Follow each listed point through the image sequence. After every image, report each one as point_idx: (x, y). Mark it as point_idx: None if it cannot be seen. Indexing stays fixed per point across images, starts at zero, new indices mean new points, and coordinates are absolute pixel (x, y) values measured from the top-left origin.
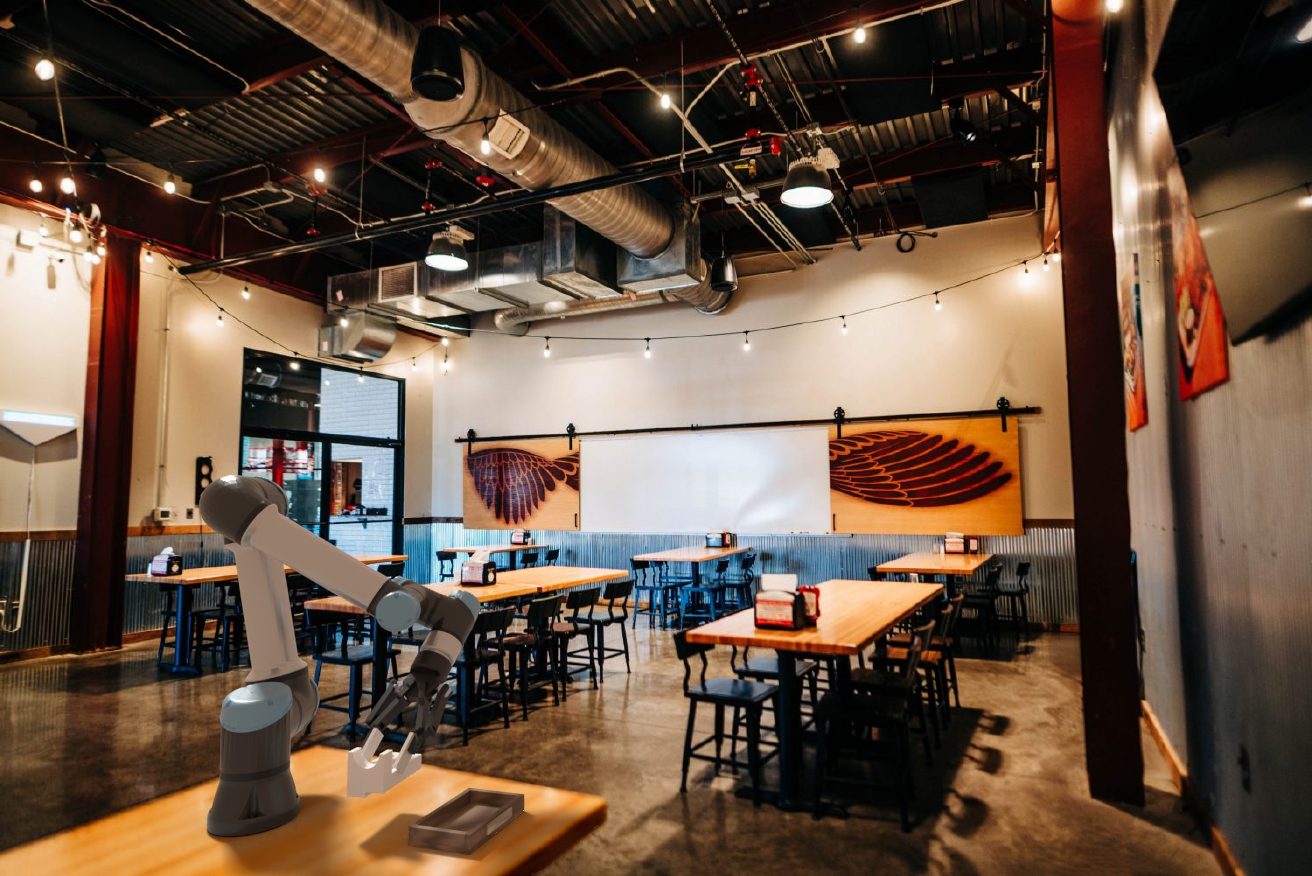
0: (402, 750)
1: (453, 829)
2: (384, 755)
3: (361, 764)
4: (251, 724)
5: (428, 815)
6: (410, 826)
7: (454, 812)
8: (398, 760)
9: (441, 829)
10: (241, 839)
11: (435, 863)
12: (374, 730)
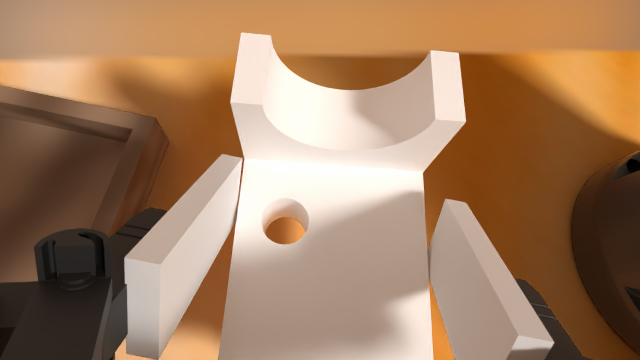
0: (202, 187)
1: (48, 202)
2: (241, 36)
3: (377, 104)
4: None
5: (117, 192)
6: (150, 119)
7: None
8: (216, 165)
9: (46, 104)
10: (597, 153)
11: (70, 66)
12: (522, 318)
